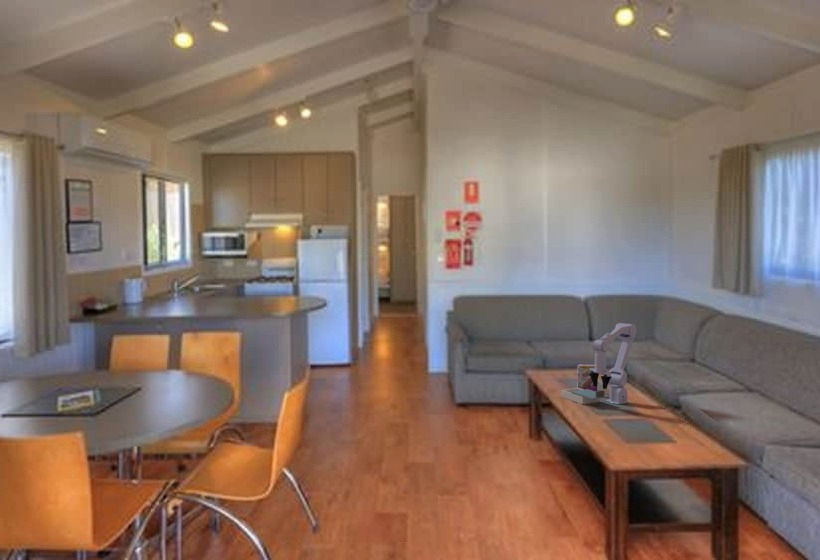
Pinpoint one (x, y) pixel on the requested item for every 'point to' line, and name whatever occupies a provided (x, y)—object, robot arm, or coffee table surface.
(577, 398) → the carton
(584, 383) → the candy bar box
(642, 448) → the coffee table surface
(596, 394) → the carton lid
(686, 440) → the coffee table surface
